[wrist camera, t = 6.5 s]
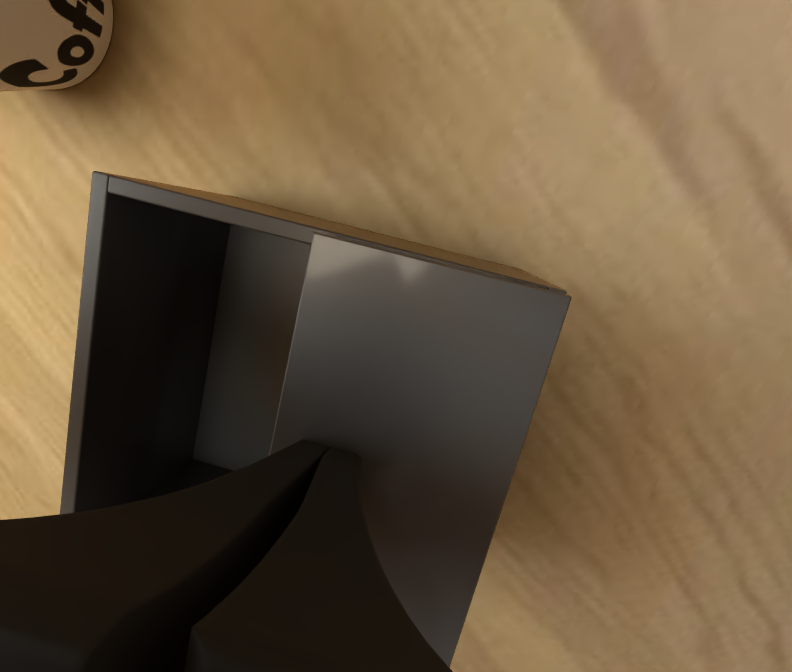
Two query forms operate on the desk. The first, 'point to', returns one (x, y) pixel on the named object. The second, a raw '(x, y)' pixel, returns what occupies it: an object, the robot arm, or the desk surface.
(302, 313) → the flap
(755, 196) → the desk surface
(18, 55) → the cup
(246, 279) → the carton
